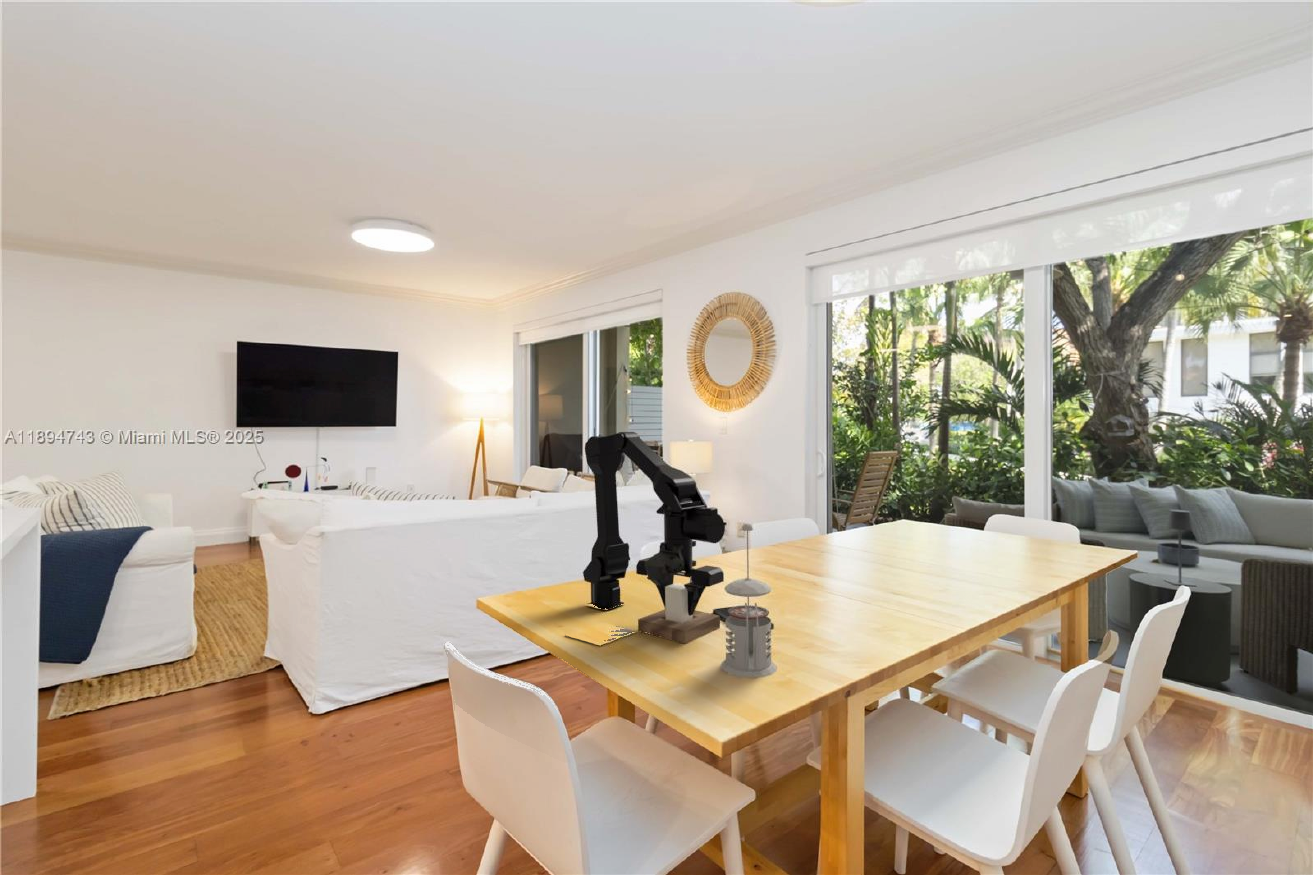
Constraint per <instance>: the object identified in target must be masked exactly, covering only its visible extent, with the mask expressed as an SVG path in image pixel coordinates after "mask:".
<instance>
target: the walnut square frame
mask: <svg viewBox="0 0 1313 875" xmlns="http://www.w3.org/2000/svg"><path fill="white" fill-rule="evenodd" d="M720 628H721V619H720V616H719V615H714V614H713V613H709V612H705V611H700V610H696V609H695V611H694V613H693V619H691V620H689V621H687V622H684V623H678V622H674V621H669V620H666V612H665V608H664V609H662V610H659V611H657V612H654V613H651V614H649V615H646V616H643V617H641V618H638V619H637V630H638V631H641V632H640V633H642V632H647V633H650V634H653V635H652V636H654V635H655V636H654V637H657V636H661V637H663V638H662V639H665V638H666V639H665V640H669V641H674V642H676V641H677V642H678V643H681V644H684V645H686V644H688V643H690V642H692V641H694V640H697V639H699V638H701V637H703V636H705V635H707V634H710V633H712V632H714V631H716V630H718V629H720ZM638 631H637V632H638ZM650 634H649V635H650ZM661 637H660V638H661Z"/></svg>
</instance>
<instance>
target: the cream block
mask: <svg viewBox="0 0 1313 875" xmlns="http://www.w3.org/2000/svg"><path fill="white" fill-rule="evenodd" d="M684 584H685V583H679V582H675V583H673V584H672V585H669V586H666V587H665V607H664V609H665V612H666V620H669V621H674V622H678V623H684V622H687V621H689V620H691V619H693V615H691V616H689V615H688V592H687V589H686V588H685V586H684Z"/></svg>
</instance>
